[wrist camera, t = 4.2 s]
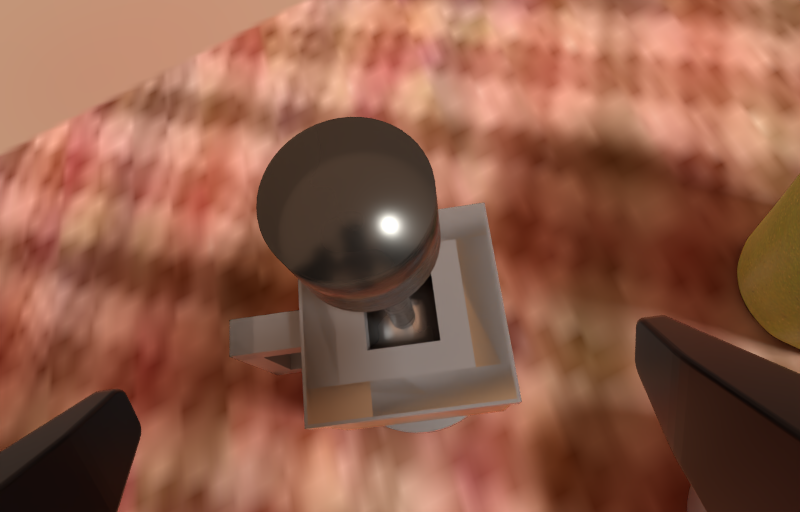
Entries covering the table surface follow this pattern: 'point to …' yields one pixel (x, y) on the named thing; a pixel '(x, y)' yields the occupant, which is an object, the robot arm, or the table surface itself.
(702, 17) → the table surface
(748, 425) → the robot arm
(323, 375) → the press carafe
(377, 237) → the plunger
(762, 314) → the plant pot
